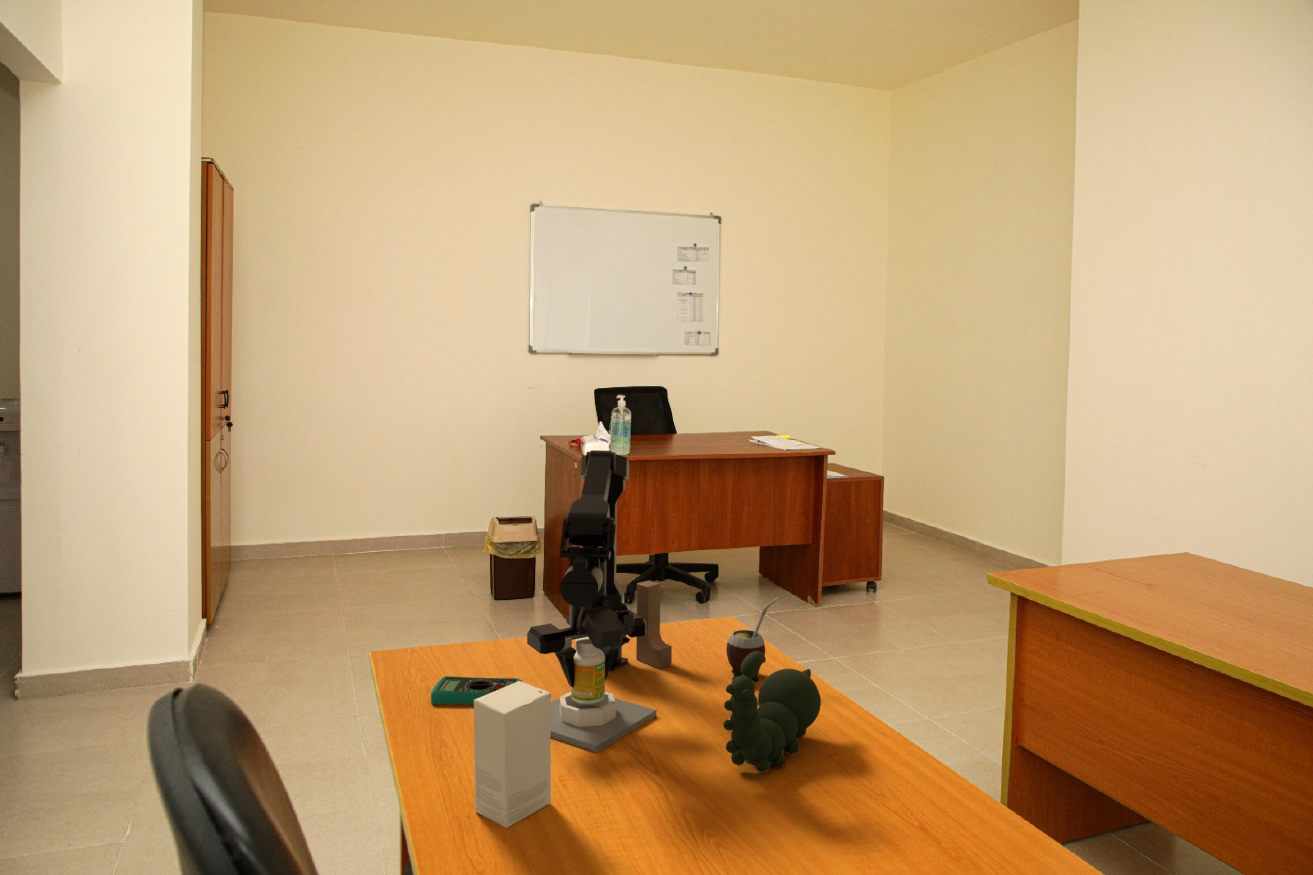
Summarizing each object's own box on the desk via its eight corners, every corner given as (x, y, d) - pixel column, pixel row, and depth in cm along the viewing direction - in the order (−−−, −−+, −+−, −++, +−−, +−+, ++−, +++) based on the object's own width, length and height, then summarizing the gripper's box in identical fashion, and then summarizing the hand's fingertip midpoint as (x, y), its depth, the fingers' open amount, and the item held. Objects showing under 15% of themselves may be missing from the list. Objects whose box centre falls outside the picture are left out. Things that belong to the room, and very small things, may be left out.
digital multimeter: (517, 709, 151) (517, 692, 151) (429, 707, 152) (429, 690, 151) (525, 692, 158) (525, 676, 158) (441, 690, 159) (441, 673, 158)
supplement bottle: (599, 706, 142) (600, 646, 141) (566, 703, 143) (566, 643, 142) (608, 693, 148) (608, 635, 147) (576, 690, 149) (576, 632, 148)
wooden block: (635, 659, 174) (636, 583, 172) (648, 655, 176) (649, 580, 174) (659, 669, 169) (660, 590, 167) (671, 664, 171) (673, 587, 169)
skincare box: (520, 788, 124) (520, 678, 122) (554, 805, 120) (554, 691, 118) (472, 813, 118) (470, 697, 116) (506, 831, 113) (505, 711, 112)
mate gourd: (717, 675, 166) (719, 595, 164) (747, 665, 171) (749, 588, 169) (748, 688, 160) (750, 605, 159) (777, 677, 166) (779, 597, 164)
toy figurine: (769, 805, 124) (837, 724, 144) (767, 675, 120) (837, 612, 141) (708, 786, 129) (783, 710, 149) (705, 661, 125) (781, 601, 146)
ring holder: (579, 693, 157) (579, 673, 157) (656, 715, 148) (656, 695, 148) (516, 725, 144) (516, 704, 143) (596, 752, 135) (596, 730, 134)
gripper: (555, 610, 132) (555, 713, 134) (665, 592, 141) (663, 689, 143) (525, 591, 141) (525, 687, 143) (629, 575, 151) (628, 666, 153)
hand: (587, 682), depth 145 cm, fingers closed on supplement bottle, 5 cm apart
